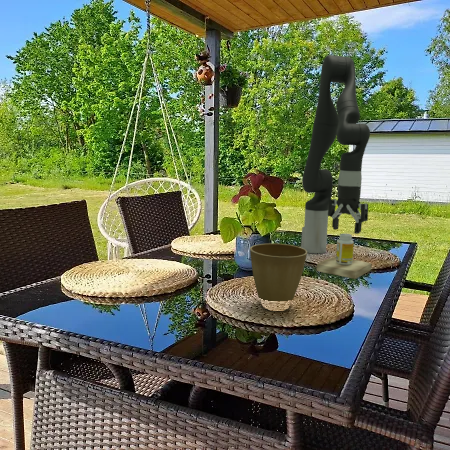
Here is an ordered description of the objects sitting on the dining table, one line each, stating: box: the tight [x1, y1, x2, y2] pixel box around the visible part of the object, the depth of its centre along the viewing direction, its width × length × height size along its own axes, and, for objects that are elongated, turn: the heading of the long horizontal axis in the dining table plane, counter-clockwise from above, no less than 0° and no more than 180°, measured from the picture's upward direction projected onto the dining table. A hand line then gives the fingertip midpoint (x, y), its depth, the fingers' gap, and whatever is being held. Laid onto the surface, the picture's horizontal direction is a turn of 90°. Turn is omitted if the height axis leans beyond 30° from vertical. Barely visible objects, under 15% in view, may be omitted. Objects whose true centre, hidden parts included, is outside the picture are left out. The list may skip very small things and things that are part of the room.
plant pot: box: [249, 243, 308, 301], centre depth 122 cm, size 15×15×16 cm
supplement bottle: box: [335, 233, 355, 265], centre depth 159 cm, size 6×6×10 cm
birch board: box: [316, 256, 373, 280], centre depth 160 cm, size 14×14×2 cm
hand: (346, 231), depth 158 cm, fingers open, 8 cm apart
